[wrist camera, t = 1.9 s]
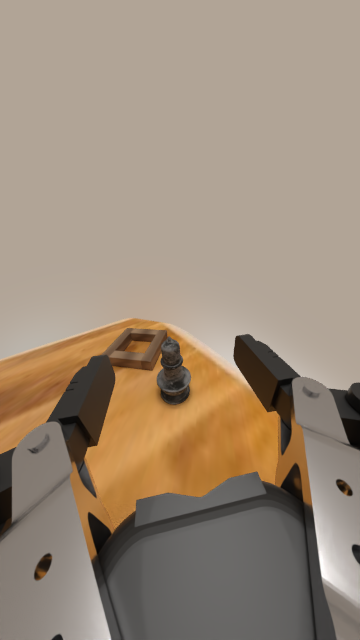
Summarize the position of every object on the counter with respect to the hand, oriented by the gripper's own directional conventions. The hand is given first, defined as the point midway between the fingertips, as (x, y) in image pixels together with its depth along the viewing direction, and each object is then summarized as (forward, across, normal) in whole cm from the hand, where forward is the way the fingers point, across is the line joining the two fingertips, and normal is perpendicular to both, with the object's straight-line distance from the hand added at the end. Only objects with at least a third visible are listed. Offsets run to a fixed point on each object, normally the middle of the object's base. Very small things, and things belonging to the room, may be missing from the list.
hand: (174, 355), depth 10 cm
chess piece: (+11, 0, +18) cm, 21 cm away
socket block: (+25, +8, +18) cm, 32 cm away
